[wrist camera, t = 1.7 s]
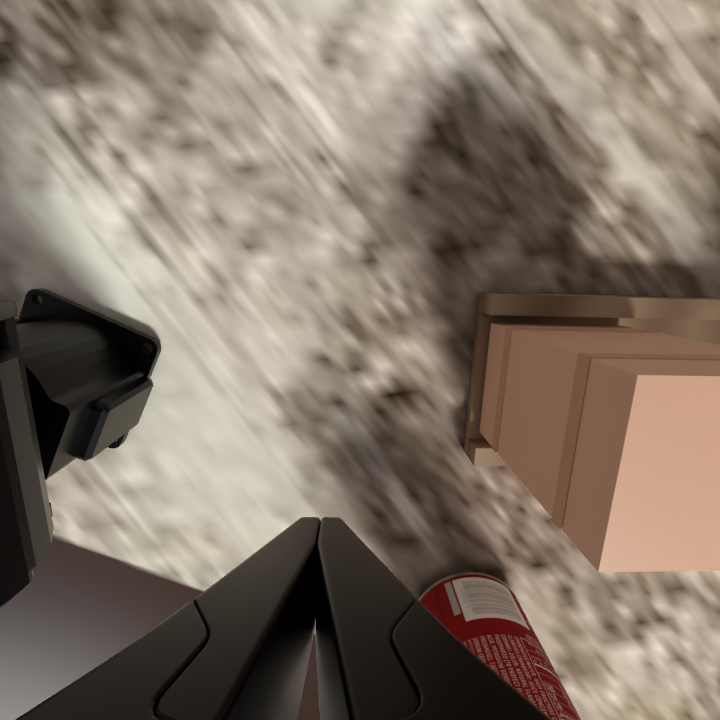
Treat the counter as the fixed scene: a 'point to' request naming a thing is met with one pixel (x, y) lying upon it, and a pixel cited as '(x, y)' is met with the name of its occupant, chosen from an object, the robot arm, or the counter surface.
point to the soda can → (499, 636)
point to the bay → (662, 314)
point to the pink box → (612, 438)
